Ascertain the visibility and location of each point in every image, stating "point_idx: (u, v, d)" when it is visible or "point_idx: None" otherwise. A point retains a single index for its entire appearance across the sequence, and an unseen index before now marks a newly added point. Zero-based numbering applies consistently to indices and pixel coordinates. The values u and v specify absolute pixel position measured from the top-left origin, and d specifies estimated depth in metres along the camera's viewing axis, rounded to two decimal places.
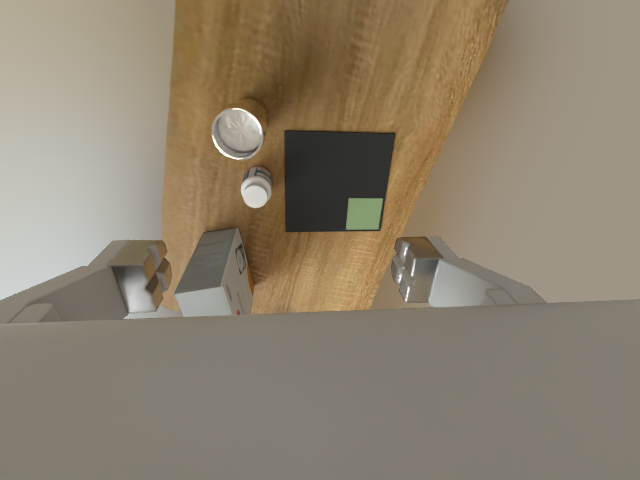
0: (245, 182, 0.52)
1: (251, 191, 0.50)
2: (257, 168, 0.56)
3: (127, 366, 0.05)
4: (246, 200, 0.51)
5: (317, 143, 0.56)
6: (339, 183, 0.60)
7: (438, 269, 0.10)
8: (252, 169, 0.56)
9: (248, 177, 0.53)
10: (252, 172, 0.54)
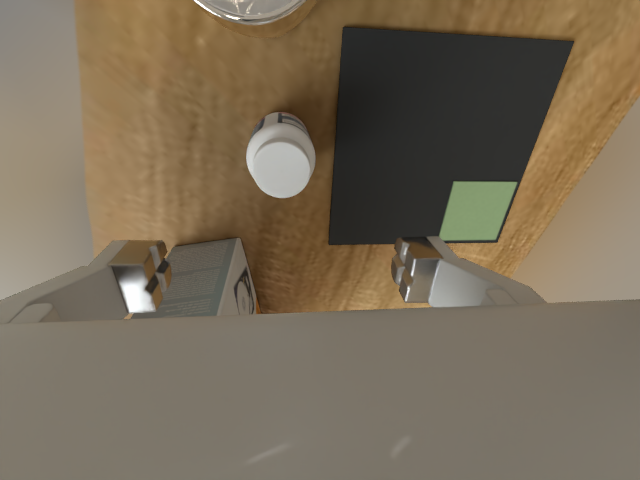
0: (257, 137, 0.22)
1: (272, 156, 0.21)
2: (281, 113, 0.26)
3: (127, 366, 0.05)
4: (260, 179, 0.21)
5: (409, 60, 0.26)
6: (441, 151, 0.30)
7: (438, 269, 0.10)
8: (270, 115, 0.26)
9: (264, 127, 0.23)
10: (272, 119, 0.24)
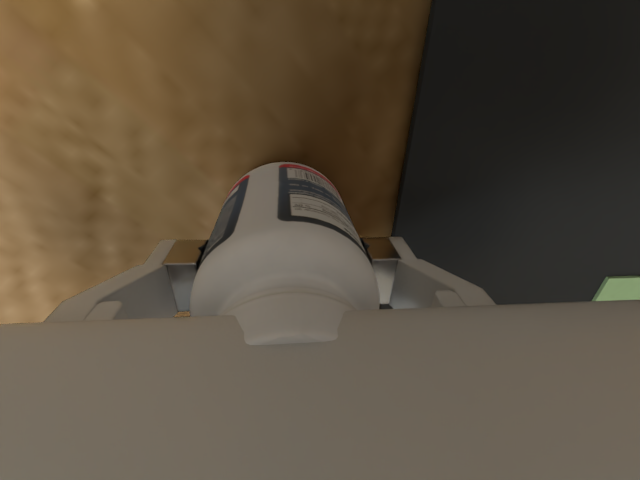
0: (217, 271, 0.07)
1: None
2: (286, 170, 0.11)
3: (127, 366, 0.05)
4: None
5: (582, 47, 0.11)
6: (598, 228, 0.15)
7: (396, 270, 0.10)
8: (262, 175, 0.11)
9: (239, 232, 0.08)
10: (263, 193, 0.10)
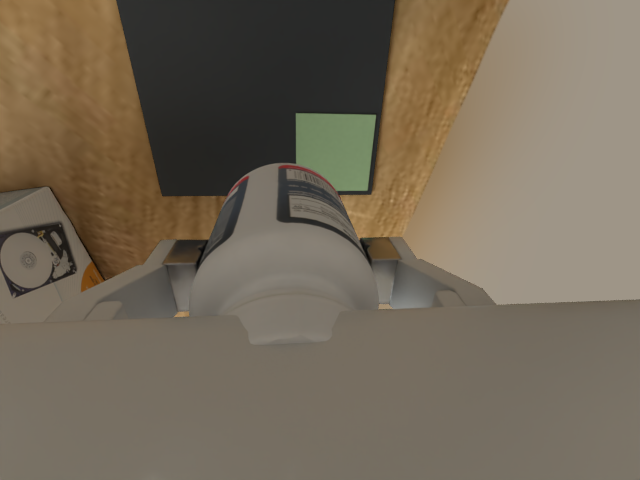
0: (216, 273, 0.07)
1: None
2: (286, 171, 0.11)
3: (127, 366, 0.05)
4: None
5: None
6: (269, 72, 0.25)
7: (396, 270, 0.10)
8: (261, 176, 0.11)
9: (238, 233, 0.08)
10: (262, 194, 0.10)
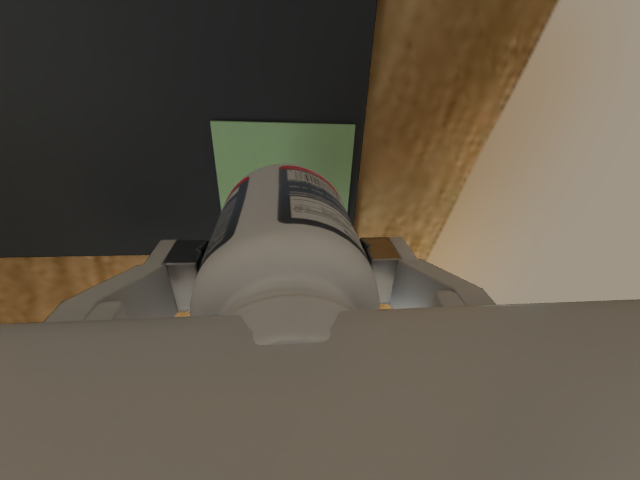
0: (217, 274, 0.07)
1: None
2: (286, 172, 0.11)
3: (127, 366, 0.05)
4: None
5: None
6: (151, 43, 0.13)
7: (396, 270, 0.10)
8: (262, 177, 0.11)
9: (239, 234, 0.08)
10: (263, 195, 0.10)
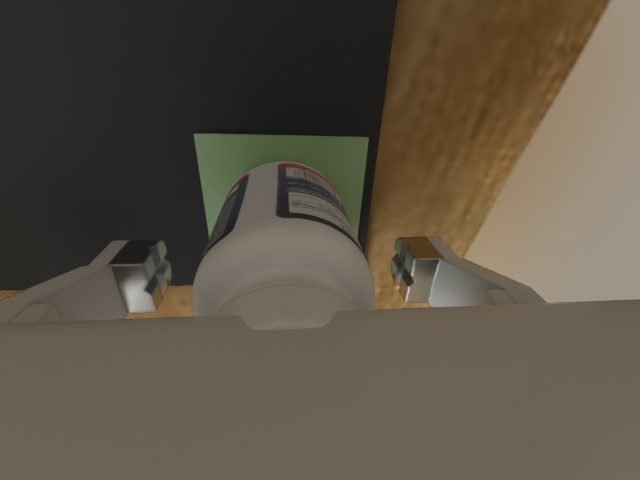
0: (217, 266, 0.08)
1: None
2: (285, 169, 0.12)
3: (127, 366, 0.05)
4: None
5: None
6: (118, 39, 0.11)
7: (438, 269, 0.10)
8: (261, 174, 0.12)
9: (239, 228, 0.08)
10: (262, 191, 0.10)
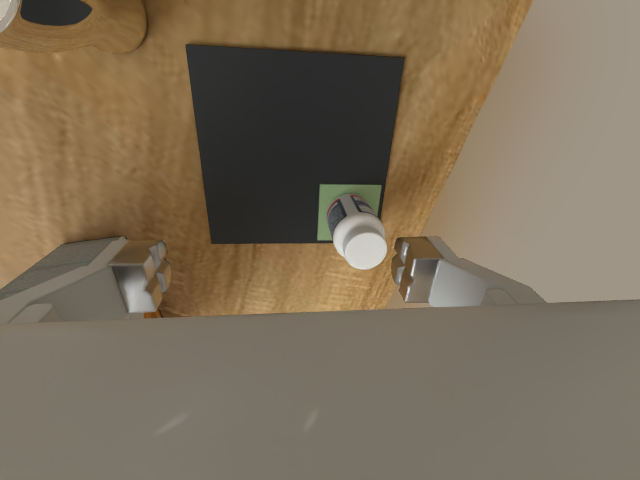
0: (345, 224, 0.30)
1: (361, 242, 0.28)
2: (353, 197, 0.34)
3: (127, 366, 0.05)
4: (350, 257, 0.29)
5: (253, 74, 0.29)
6: (301, 156, 0.33)
7: (438, 269, 0.10)
8: (345, 199, 0.34)
9: (348, 215, 0.30)
10: (349, 205, 0.32)
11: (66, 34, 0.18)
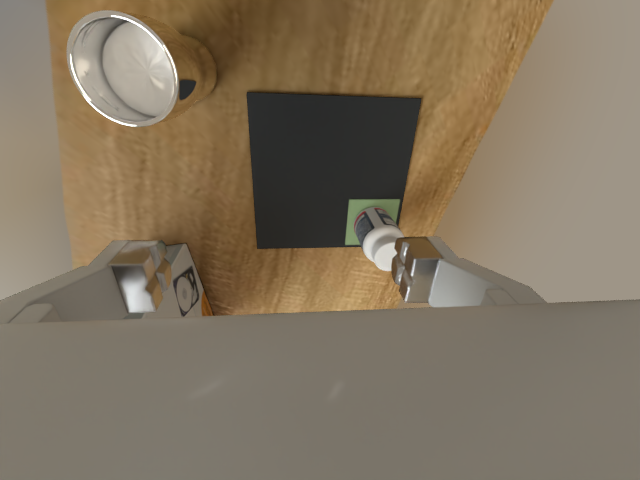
0: (373, 235, 0.37)
1: (387, 249, 0.35)
2: (377, 210, 0.41)
3: (127, 366, 0.05)
4: (378, 261, 0.36)
5: (299, 114, 0.36)
6: (335, 177, 0.40)
7: (438, 269, 0.10)
8: (370, 212, 0.41)
9: (376, 227, 0.37)
10: (375, 217, 0.39)
11: (186, 109, 0.25)
